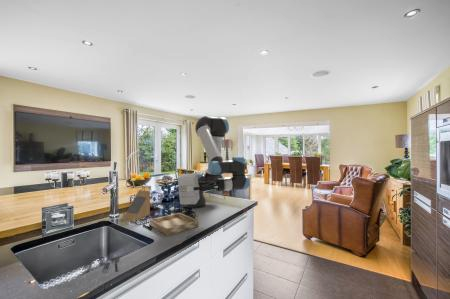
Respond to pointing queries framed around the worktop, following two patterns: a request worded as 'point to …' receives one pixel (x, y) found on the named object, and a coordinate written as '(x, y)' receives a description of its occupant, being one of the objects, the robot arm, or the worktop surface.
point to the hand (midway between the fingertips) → (185, 187)
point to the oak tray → (173, 223)
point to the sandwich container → (138, 207)
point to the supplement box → (183, 182)
